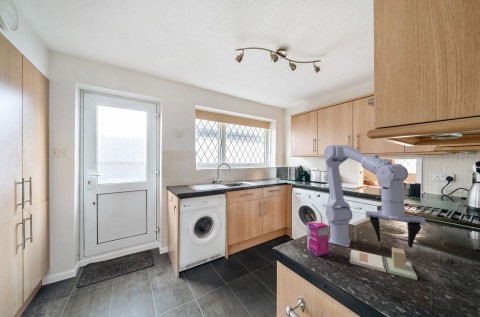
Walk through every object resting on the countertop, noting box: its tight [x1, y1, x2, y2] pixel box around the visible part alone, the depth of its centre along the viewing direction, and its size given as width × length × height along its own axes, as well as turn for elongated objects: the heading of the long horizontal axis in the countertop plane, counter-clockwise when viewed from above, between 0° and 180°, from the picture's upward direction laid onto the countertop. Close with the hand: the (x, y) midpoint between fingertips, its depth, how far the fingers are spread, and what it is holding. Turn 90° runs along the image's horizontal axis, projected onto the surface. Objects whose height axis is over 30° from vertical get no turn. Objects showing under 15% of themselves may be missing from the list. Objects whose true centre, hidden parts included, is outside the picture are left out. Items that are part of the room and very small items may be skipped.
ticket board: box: [349, 249, 387, 273], centre depth 65 cm, size 10×10×1 cm
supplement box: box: [306, 220, 330, 257], centre depth 72 cm, size 6×6×12 cm
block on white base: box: [383, 246, 418, 281], centre depth 60 cm, size 10×7×6 cm
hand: (394, 243), depth 58 cm, fingers open, 7 cm apart
